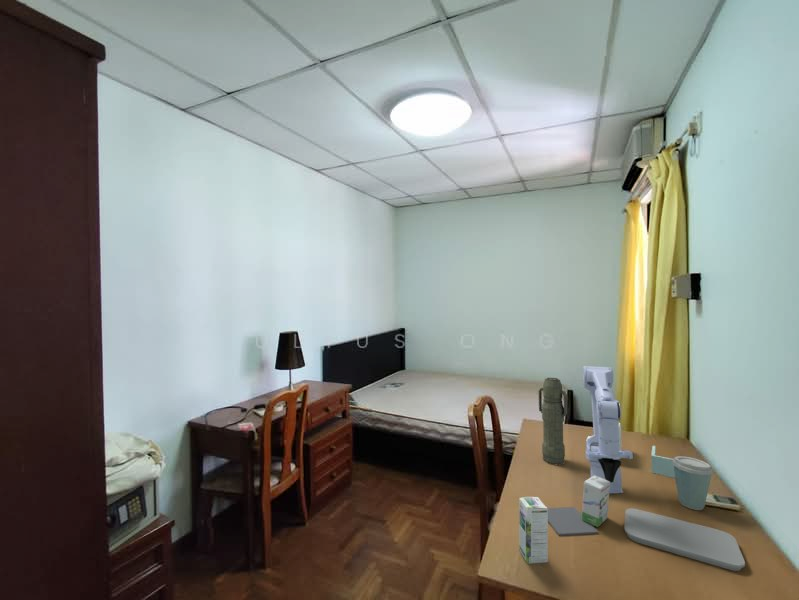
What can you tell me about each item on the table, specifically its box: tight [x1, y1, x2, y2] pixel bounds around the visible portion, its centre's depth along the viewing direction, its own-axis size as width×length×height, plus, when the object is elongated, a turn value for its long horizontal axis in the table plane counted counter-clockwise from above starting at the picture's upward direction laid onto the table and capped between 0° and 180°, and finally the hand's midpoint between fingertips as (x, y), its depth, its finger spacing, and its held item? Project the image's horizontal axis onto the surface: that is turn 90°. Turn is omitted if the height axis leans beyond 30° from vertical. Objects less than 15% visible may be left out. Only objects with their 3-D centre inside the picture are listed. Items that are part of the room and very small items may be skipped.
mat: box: [547, 506, 599, 537], centre depth 113 cm, size 12×13×1 cm
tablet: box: [624, 507, 746, 572], centre depth 104 cm, size 16×26×2 cm, turn 57°
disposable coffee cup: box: [672, 455, 714, 511], centre depth 121 cm, size 11×11×15 cm
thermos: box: [538, 377, 569, 466], centre depth 156 cm, size 9×12×35 cm
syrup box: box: [518, 496, 549, 565], centre depth 98 cm, size 6×6×14 cm
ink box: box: [581, 475, 610, 528], centre depth 114 cm, size 8×5×12 cm, turn 132°
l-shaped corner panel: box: [650, 445, 675, 479], centre depth 145 cm, size 12×12×8 cm
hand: (609, 481), depth 117 cm, fingers closed
